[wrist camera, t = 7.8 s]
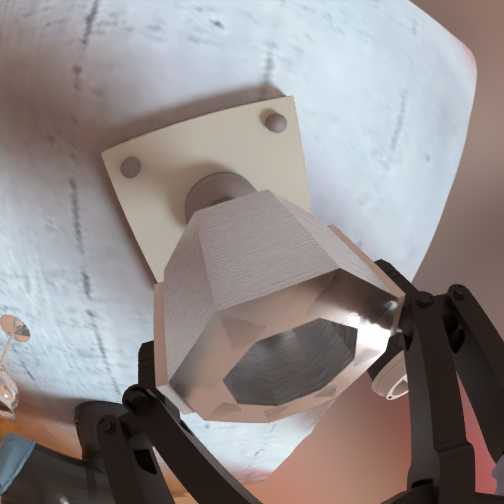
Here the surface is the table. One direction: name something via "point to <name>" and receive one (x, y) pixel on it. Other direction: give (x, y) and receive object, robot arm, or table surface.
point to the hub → (268, 311)
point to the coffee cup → (390, 370)
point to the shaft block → (205, 169)
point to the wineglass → (3, 386)
